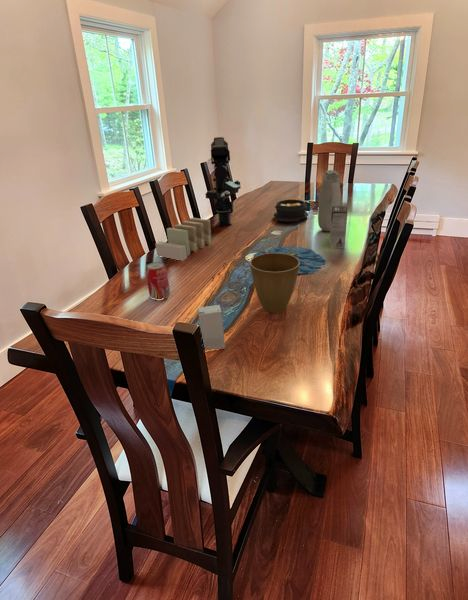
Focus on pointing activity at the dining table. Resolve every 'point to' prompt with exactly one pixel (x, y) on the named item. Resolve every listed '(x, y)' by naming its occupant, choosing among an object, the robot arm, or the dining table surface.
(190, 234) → the maple tile
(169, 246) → the block
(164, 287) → the soda can
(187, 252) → the sage end tile
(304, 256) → the decorative plate
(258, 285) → the plant pot
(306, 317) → the dining table surface
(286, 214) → the casserole
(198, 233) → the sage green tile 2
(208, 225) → the maple tile
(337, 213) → the coffee box
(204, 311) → the skincare box
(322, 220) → the grey bottle
